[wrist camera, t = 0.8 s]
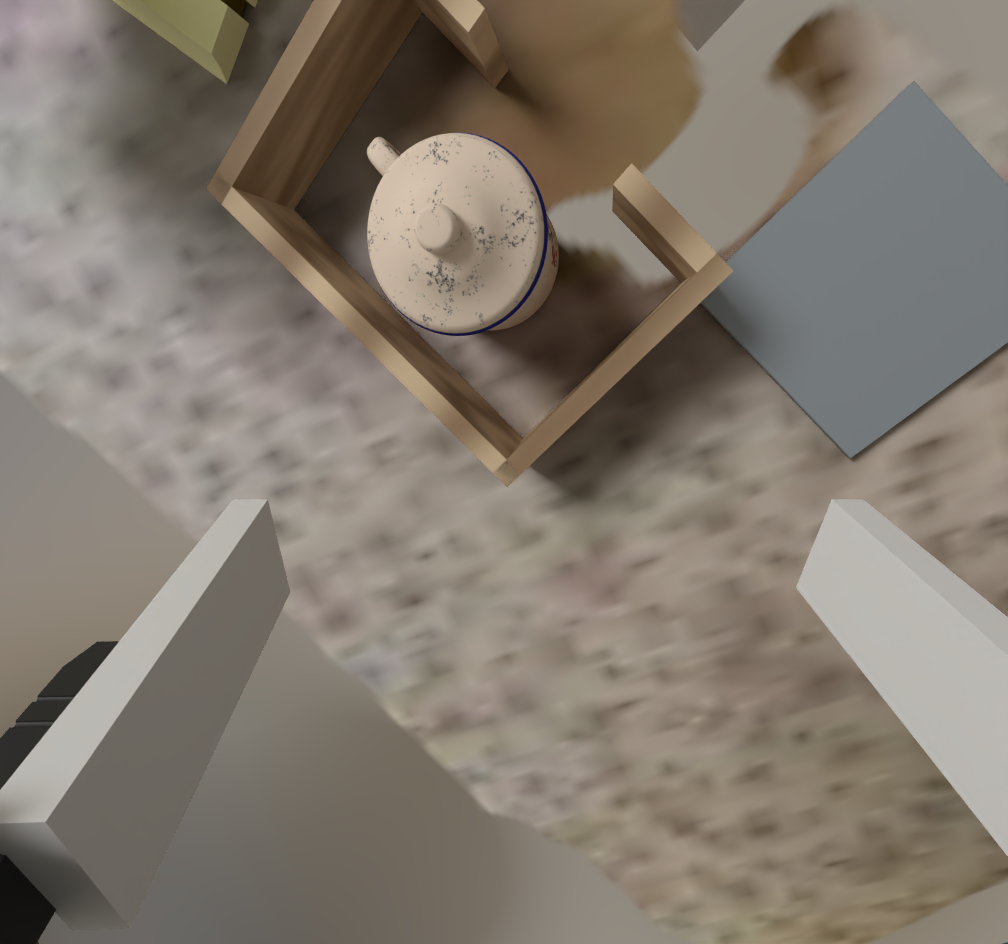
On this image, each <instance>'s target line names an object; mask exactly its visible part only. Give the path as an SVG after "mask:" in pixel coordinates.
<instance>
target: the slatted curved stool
mask: <svg viewBox="0 0 1008 944" xmlns="http://www.w3.org/2000/svg"><path fill="white" fill-rule="evenodd" d="M112 1H114V2H115V3H116V4H118V5H119V6H120V7H122V8H123V9H124V10H126V11H127V12H129V13H130V14H131V15H133V16H134V17H135V18H137V19H138V20H140V21H141V22H142V23H144V24H145V25H146V26H148V27H149V28H150V29H152V30H153V31H155V32H156V33H157V34H159V35H160V36H161V37H163V38H164V39H165V40H167V41H168V42H170V43H171V44H172V45H174V46H175V47H176V48H178V49H179V50H181V51H182V52H183V53H185V54H186V55H187V56H189V57H190V58H191V59H193V60H194V61H196V62H197V63H198V64H200V65H201V66H202V67H204V68H205V69H207V70H208V71H209V72H211V73H212V74H213V75H215V76H216V77H217V78H219V79H220V80H222V81H223V82H224V83H226V84H227V83H228V81H229V78H230V75H231V72H232V70H233V67H234V64H235V61H236V59H237V56H238V53H239V51H240V48H241V45H242V42H243V40H244V37H245V34H246V31H247V29H248V26H249V23H248V22H246V21H245V20H244V19H243V18H242V17H241V16H242V14H243V11H244V8H245V5H246V2H248V3H249V4H250V5H252V6H253V7H256V4H257V1H258V0H112Z"/></svg>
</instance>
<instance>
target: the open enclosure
mask: <svg viewBox="0 0 1008 944" xmlns="http://www.w3.org/2000/svg"><path fill="white" fill-rule="evenodd" d="M422 13H424V14H425V15H426V17H427V18H428V19H429V20H430V21H431V22H432V23H433V24H434V25H435V26H436V27H437V28H438V29H439V30H440V31H441V32H442V33H443V34H444V35H445V36H446V37H447V39H448V40H449V41H450V42H451V43H452V44H453V45H454V46H455V47H456V48H457V49H458V50H459V51H460V52H461V53H462V54H463V55H464V56H465V57H466V58H467V59H468V60H469V62H470V63H471V64H472V65H473V66H474V67H475V68H476V69H477V70H478V71H479V72H480V73H481V74H482V75H483V76H484V77H485V78H486V79H487V80H488V81H489V82H490V84H491V85H492V86H493V87H494V88H496V86H497V85H498V84H499V82H500V81H501V80H502V78H503V77H504V75H505V74H506V73H507V71H508V70H509V69H508V66H507V64H506V61H505V59H504V56H503V54H502V51H501V48H500V46H499V43H498V41H497V38H496V36H495V33H494V30H493V28H492V25H491V23H490V20H489V18H488V15H487V12H486V10H485V8H484V7H483V6H482V5H481V4H480V3H479V2H478V0H313V2H312V4H311V6H310V7H309V9H308V11H307V13H306V14H305V16H304V18H303V20H302V21H301V23H300V25H299V27H298V28H297V30H296V32H295V34H294V35H293V37H292V39H291V41H290V42H289V44H288V46H287V48H286V50H285V51H284V53H283V55H282V57H281V58H280V60H279V62H278V64H277V65H276V67H275V69H274V71H273V72H272V74H271V76H270V78H269V79H268V81H267V83H266V85H265V86H264V88H263V90H262V92H261V93H260V95H259V97H258V99H257V100H256V102H255V104H254V106H253V107H252V109H251V111H250V113H249V114H248V116H247V118H246V120H245V121H244V123H243V125H242V127H241V128H240V130H239V132H238V134H237V135H236V137H235V139H234V141H233V142H232V144H231V146H230V148H229V149H228V151H227V153H226V155H225V156H224V158H223V160H222V162H221V163H220V165H219V167H218V169H217V170H216V172H215V174H214V176H213V177H212V179H211V181H210V183H209V184H208V186H207V188H206V189H207V190H208V191H209V192H210V193H211V194H212V195H213V196H214V197H215V198H216V199H217V200H218V201H219V202H220V203H221V204H222V205H223V206H224V207H225V208H226V209H227V210H228V211H229V212H230V213H231V214H232V215H233V216H234V217H235V218H236V219H237V220H238V221H239V222H240V223H241V224H242V225H243V226H244V227H245V228H246V229H247V230H248V231H249V232H250V233H251V234H252V235H253V236H254V237H255V238H256V239H257V240H258V241H259V242H260V243H261V244H262V245H263V246H264V247H265V248H266V249H267V250H268V251H269V252H270V253H271V254H272V255H273V256H274V257H275V258H276V259H277V260H278V261H279V262H280V263H281V264H282V265H283V266H284V267H285V268H286V269H287V270H288V271H289V272H290V273H291V274H292V275H293V276H294V277H295V278H296V279H297V280H298V281H299V282H300V283H301V284H302V285H303V286H305V287H306V288H307V289H308V290H309V291H310V292H311V293H312V294H313V295H314V296H315V297H316V298H317V299H318V300H319V301H320V302H321V303H322V304H323V305H324V306H325V307H326V308H327V309H328V310H329V311H330V312H331V313H332V314H333V315H334V316H335V317H336V318H337V319H338V320H339V321H340V322H341V323H342V324H343V325H344V326H345V327H346V328H347V329H348V330H349V331H350V332H351V333H352V334H353V335H354V336H355V337H356V338H357V339H358V340H359V341H360V342H361V343H362V344H363V345H364V346H365V347H366V348H367V349H368V350H369V351H370V352H371V353H372V354H373V355H374V356H375V357H376V358H377V359H378V360H379V361H380V362H381V363H382V364H383V365H384V366H385V367H386V368H387V369H388V370H389V371H390V372H391V373H392V374H393V375H394V376H395V377H396V378H397V379H398V380H399V381H400V382H401V383H402V384H404V385H405V386H406V387H407V388H408V389H409V390H410V391H411V392H412V393H413V394H414V395H415V396H416V397H417V398H418V399H419V400H420V401H421V402H422V403H423V404H424V405H425V406H426V407H427V408H428V409H429V410H430V411H431V412H432V413H433V414H434V415H435V416H436V417H437V418H438V419H439V420H440V421H441V422H442V423H443V424H444V425H445V426H446V427H447V428H448V429H449V430H450V431H451V432H452V433H453V434H454V435H455V436H456V437H457V438H458V439H459V440H460V441H461V442H462V443H463V444H464V445H465V446H466V447H467V448H468V449H469V450H470V451H471V452H472V453H473V454H474V455H475V456H476V457H477V458H478V459H479V460H480V461H481V462H482V463H483V464H484V465H485V466H486V467H487V468H488V469H489V470H490V471H491V472H492V473H493V474H494V475H495V476H496V477H497V478H498V479H499V480H500V481H501V482H503V483H504V484H505V485H506V486H507V487H508V486H509V485H510V484H511V483H512V482H513V481H514V480H515V479H516V478H517V477H518V476H519V475H520V474H521V473H523V472H524V471H525V470H526V469H527V468H528V467H529V466H530V465H531V464H532V463H533V462H534V461H535V460H536V459H537V458H538V457H539V456H540V455H541V454H542V453H543V452H545V451H546V450H547V449H548V448H549V447H550V446H551V445H552V444H553V443H554V442H555V441H556V440H557V439H558V438H559V437H560V436H561V435H562V434H563V433H564V432H565V431H566V430H568V429H569V428H570V427H571V426H572V425H573V424H574V423H575V422H576V421H577V420H578V419H579V418H580V417H581V416H582V415H583V414H584V413H585V412H586V411H587V410H588V409H590V408H591V407H592V406H593V405H594V404H595V403H596V402H597V401H598V400H599V399H600V398H601V397H602V396H603V395H604V394H605V393H606V392H607V391H608V390H609V389H610V388H612V387H613V386H614V385H615V384H616V383H617V382H618V381H619V380H620V379H621V378H622V377H623V376H624V375H625V374H626V373H627V372H628V371H629V370H630V369H631V368H632V367H634V366H635V365H636V364H637V363H638V362H639V361H640V360H641V359H642V358H643V357H644V356H645V355H646V354H647V353H648V352H649V351H650V350H651V349H652V348H653V347H654V346H656V345H657V344H658V343H659V342H660V341H661V340H662V339H663V338H664V337H665V336H666V335H667V334H668V333H669V332H670V331H671V330H672V329H673V328H674V327H675V326H676V325H678V324H679V323H680V322H681V321H682V320H683V319H684V318H685V317H686V316H687V315H688V314H689V313H690V312H691V311H692V310H693V309H694V308H695V307H696V306H697V305H698V304H700V303H701V302H702V301H703V300H704V299H705V298H706V297H707V296H708V295H709V294H710V293H711V292H712V291H713V290H714V289H715V288H716V287H717V286H718V285H719V284H720V283H722V282H723V281H724V280H725V279H726V278H727V277H728V276H729V275H730V274H731V273H732V272H733V270H732V269H731V268H730V267H729V266H728V265H727V264H726V263H725V261H724V260H723V259H722V258H721V257H720V256H719V255H718V254H717V253H716V252H715V251H714V250H713V249H712V248H711V247H710V246H709V245H708V244H707V242H706V241H705V240H704V239H703V238H702V237H701V236H700V235H699V234H698V233H697V232H696V231H695V230H694V229H693V228H692V227H691V226H690V225H689V224H688V222H687V221H686V220H685V219H684V218H683V217H682V216H681V215H680V214H679V213H678V212H677V211H676V210H675V209H674V208H673V207H672V206H671V205H670V203H669V202H668V201H667V200H666V199H665V198H664V197H663V196H662V195H661V194H660V193H659V192H658V191H657V190H656V189H655V188H654V186H653V185H652V184H651V183H650V182H649V181H648V180H647V179H646V178H645V177H644V176H643V175H642V174H641V173H640V172H639V171H638V170H637V168H636V167H635V166H634V165H633V164H631V165H630V166H629V167H628V168H627V169H626V170H625V172H624V173H623V174H622V175H621V176H620V177H619V178H618V179H617V181H616V182H615V183H614V184H613V212H614V213H615V214H616V215H617V216H618V217H619V219H620V220H621V221H622V222H623V223H624V224H625V225H626V226H627V227H628V228H629V229H630V230H631V231H632V232H633V233H634V234H635V235H636V236H637V237H638V238H639V239H640V240H641V242H642V243H643V244H644V245H645V246H646V247H647V248H648V249H649V250H650V251H651V252H652V253H653V254H654V255H655V256H656V257H657V258H658V259H659V260H660V261H661V262H662V263H663V264H664V266H665V267H666V268H667V269H668V270H669V271H670V272H671V273H672V274H673V275H674V276H675V277H676V278H677V279H678V280H679V281H680V282H681V283H680V284H679V285H678V286H677V287H676V288H675V289H674V290H673V291H672V292H671V293H670V294H669V295H668V296H667V297H666V298H665V299H664V300H663V301H662V302H661V303H660V304H659V305H658V306H657V307H656V308H655V309H654V310H653V311H652V312H651V313H650V314H649V315H648V316H647V317H646V318H645V319H644V320H643V321H642V322H641V323H640V324H639V325H638V326H637V327H636V328H635V329H634V330H633V331H632V332H631V333H630V334H629V335H628V336H627V337H626V338H625V339H624V340H623V341H622V342H621V343H620V344H619V345H617V346H616V347H615V348H614V349H613V350H612V351H611V352H610V353H609V354H608V355H607V356H606V357H605V358H604V359H603V360H602V361H601V362H600V363H599V364H598V365H597V366H596V367H595V368H594V369H593V370H592V371H591V372H590V373H589V374H588V375H587V376H586V377H585V378H584V379H583V380H582V381H581V382H580V383H579V384H578V385H577V386H576V387H575V388H574V389H573V390H572V391H571V392H570V393H569V394H568V395H567V396H566V397H565V398H564V399H563V400H562V401H561V402H560V403H559V404H558V405H557V406H556V407H555V408H554V409H553V410H552V411H551V412H550V413H549V414H548V415H547V416H546V417H544V418H543V419H542V420H541V421H540V422H539V423H538V424H537V425H536V426H535V427H534V428H533V429H532V430H531V431H530V432H529V433H528V434H527V435H526V436H525V437H524V438H522V437H521V436H520V435H519V434H518V433H517V432H516V431H515V430H514V429H513V428H512V427H511V426H510V425H509V424H508V423H507V422H506V421H505V420H504V419H503V418H502V417H501V416H500V415H499V414H498V413H497V412H496V411H495V410H494V409H493V408H492V407H491V406H490V405H489V404H488V403H487V402H486V401H485V400H484V399H483V398H482V397H481V396H480V395H479V394H478V393H477V392H476V391H475V390H474V389H473V388H472V387H471V386H470V385H469V384H468V383H467V382H466V381H465V380H464V379H463V378H462V377H461V376H460V375H459V374H458V373H457V372H456V371H455V370H454V369H453V368H452V367H451V366H450V365H449V364H448V363H447V362H446V361H445V360H444V359H443V358H442V357H441V356H440V355H439V354H438V353H437V352H436V351H435V350H434V349H433V348H432V347H431V346H430V345H429V344H428V343H427V342H426V341H425V340H424V339H423V338H422V337H421V336H420V335H419V334H418V333H417V332H416V331H415V330H414V329H413V328H412V327H411V326H410V325H409V324H408V323H407V322H406V321H405V320H404V319H403V318H402V317H401V316H400V315H399V314H398V313H397V312H396V311H395V310H394V309H393V308H392V307H391V306H390V305H389V304H388V303H387V302H386V301H385V300H384V299H383V298H382V297H381V296H380V295H379V294H378V293H377V292H376V291H375V290H374V289H373V288H372V287H371V286H370V285H369V284H368V283H367V282H366V281H365V280H364V279H363V278H362V277H361V276H360V275H359V274H358V273H357V272H356V271H355V270H354V269H353V268H352V267H351V266H350V265H349V264H348V263H347V262H346V261H345V260H344V259H343V258H342V257H341V256H340V255H339V254H338V253H337V252H336V251H335V250H334V249H333V248H332V247H331V246H330V245H329V244H328V243H327V242H326V241H325V240H324V239H323V238H322V237H321V236H320V235H319V234H318V233H317V232H316V231H315V230H314V229H313V228H312V227H311V226H310V225H309V224H308V223H307V222H306V221H305V220H304V219H303V218H302V217H301V216H300V215H299V214H298V213H297V212H296V211H295V208H296V207H297V205H298V203H299V202H300V200H301V199H302V197H303V196H304V194H305V193H306V191H307V190H308V188H309V187H310V185H311V183H312V182H313V180H314V179H315V177H316V176H317V174H318V173H319V171H320V170H321V168H322V167H323V165H324V163H325V162H326V160H327V159H328V157H329V156H330V154H331V153H332V151H333V150H334V148H335V147H336V145H337V143H338V142H339V140H340V139H341V137H342V136H343V134H344V133H345V131H346V130H347V128H348V127H349V125H350V123H351V122H352V120H353V119H354V117H355V116H356V114H357V113H358V111H359V110H360V108H361V106H362V105H363V103H364V102H365V100H366V99H367V97H368V96H369V94H370V93H371V91H372V90H373V88H374V86H375V85H376V83H377V82H378V80H379V79H380V77H381V76H382V74H383V73H384V71H385V70H386V68H387V66H388V65H389V63H390V62H391V60H392V59H393V57H394V56H395V54H396V53H397V51H398V50H399V48H400V46H401V45H402V43H403V42H404V40H405V39H406V37H407V36H408V34H409V33H410V31H411V30H412V28H413V26H414V25H415V23H416V22H417V20H418V19H419V17H420V16H421V14H422Z"/></svg>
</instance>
